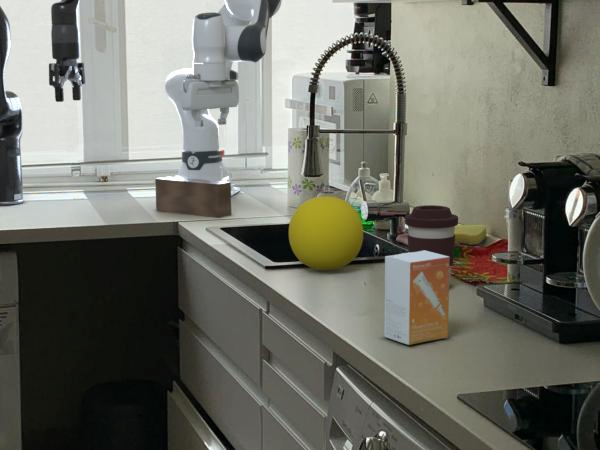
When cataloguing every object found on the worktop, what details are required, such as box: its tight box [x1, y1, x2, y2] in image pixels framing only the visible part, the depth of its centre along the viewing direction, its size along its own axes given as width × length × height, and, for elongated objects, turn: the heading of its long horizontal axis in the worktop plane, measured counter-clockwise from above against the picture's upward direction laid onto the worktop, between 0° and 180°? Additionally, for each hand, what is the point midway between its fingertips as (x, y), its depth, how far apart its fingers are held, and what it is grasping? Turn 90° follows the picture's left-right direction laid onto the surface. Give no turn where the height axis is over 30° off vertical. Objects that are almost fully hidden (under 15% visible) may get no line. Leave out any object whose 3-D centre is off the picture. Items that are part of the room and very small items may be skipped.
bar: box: [154, 176, 232, 218], centre depth 290 cm, size 23×5×9 cm, turn 54°
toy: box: [288, 195, 364, 271], centre depth 213 cm, size 15×15×15 cm
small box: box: [383, 250, 450, 346], centre depth 162 cm, size 8×6×13 cm
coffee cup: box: [404, 204, 459, 286], centre depth 197 cm, size 10×10×15 cm
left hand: (68, 101), depth 289 cm, fingers open, 8 cm apart
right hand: (210, 125), depth 283 cm, fingers open, 8 cm apart
